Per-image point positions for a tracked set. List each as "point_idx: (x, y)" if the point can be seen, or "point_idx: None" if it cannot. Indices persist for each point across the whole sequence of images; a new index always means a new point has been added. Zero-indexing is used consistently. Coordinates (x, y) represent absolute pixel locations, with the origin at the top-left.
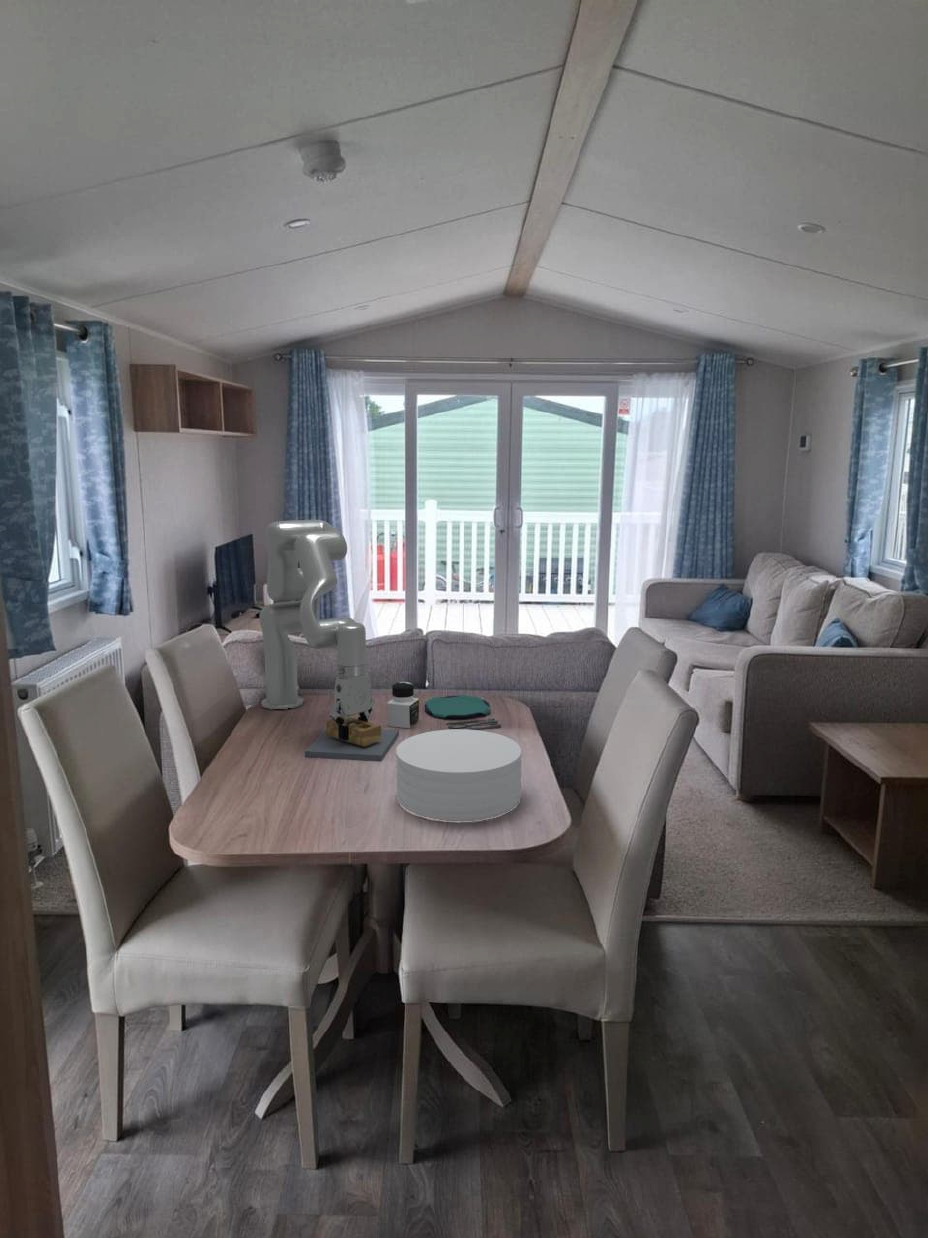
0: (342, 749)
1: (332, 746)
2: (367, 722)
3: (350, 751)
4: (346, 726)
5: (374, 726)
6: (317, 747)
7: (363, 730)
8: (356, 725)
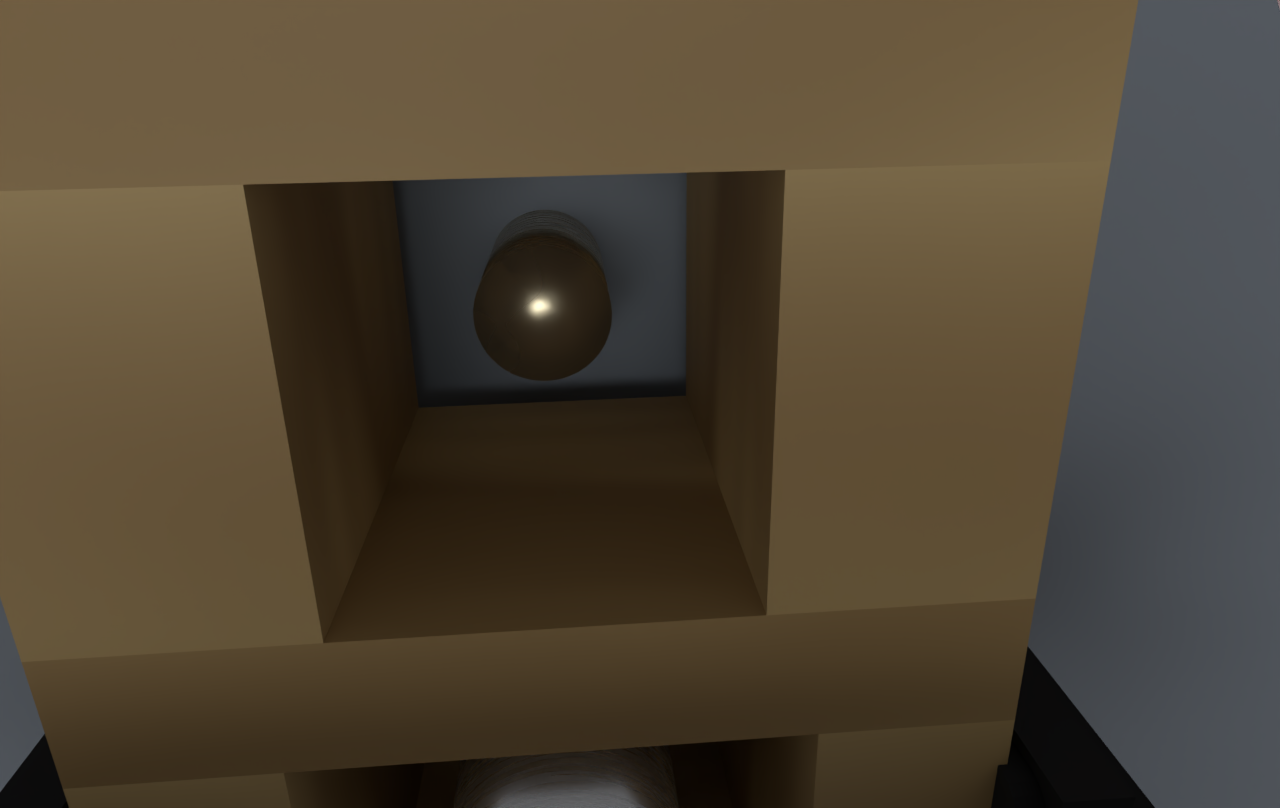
0: (1123, 356)
1: (1085, 615)
2: (105, 707)
3: (1152, 116)
4: (1119, 802)
5: (190, 49)
6: (1247, 747)
7: (1018, 17)
8: (677, 724)
